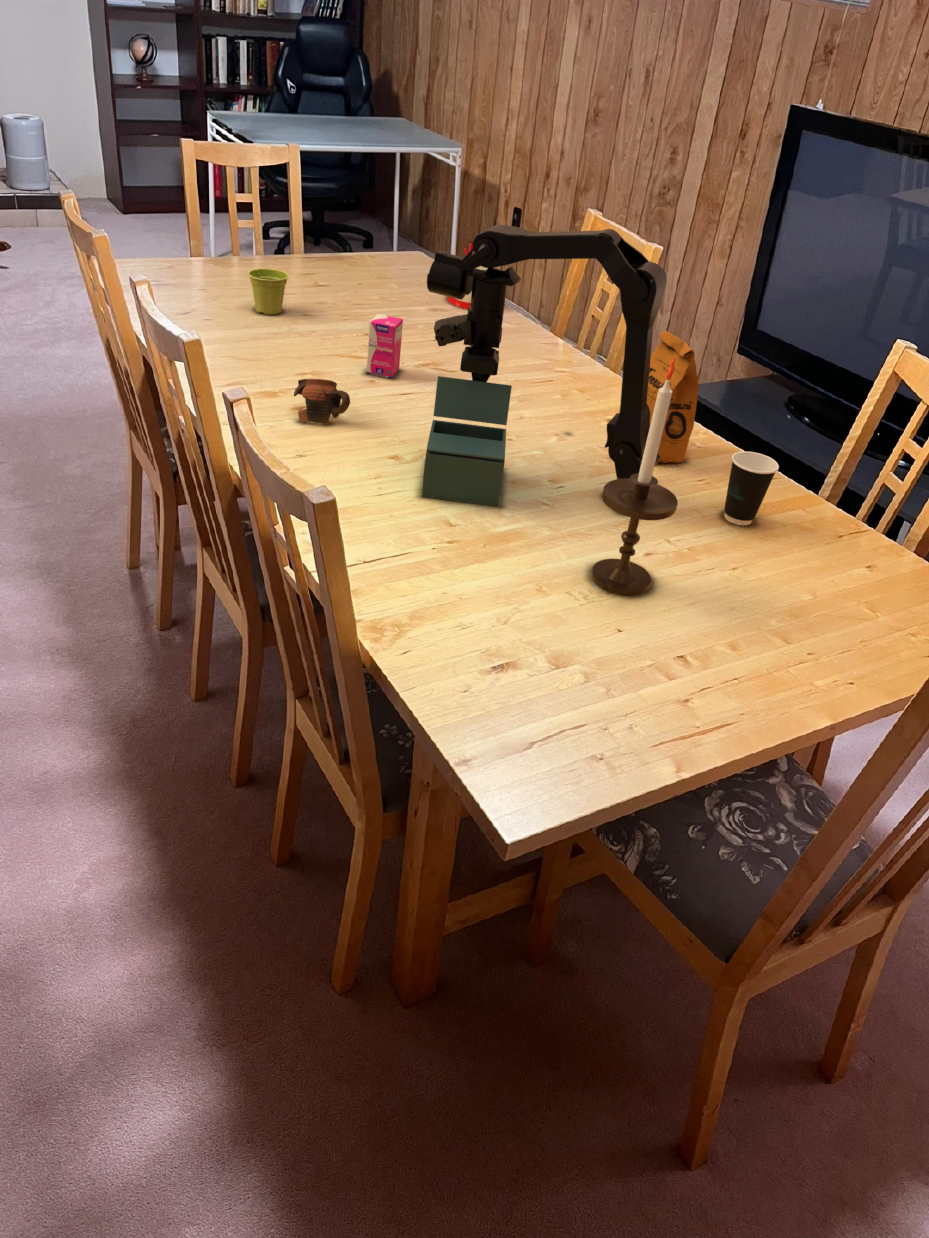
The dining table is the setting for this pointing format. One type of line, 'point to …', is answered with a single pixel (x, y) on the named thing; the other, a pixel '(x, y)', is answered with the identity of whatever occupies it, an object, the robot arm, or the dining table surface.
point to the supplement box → (384, 345)
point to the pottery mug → (321, 400)
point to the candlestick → (637, 507)
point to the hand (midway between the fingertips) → (476, 393)
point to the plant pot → (268, 289)
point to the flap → (472, 400)
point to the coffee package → (674, 395)
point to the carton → (464, 463)
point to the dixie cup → (748, 485)
